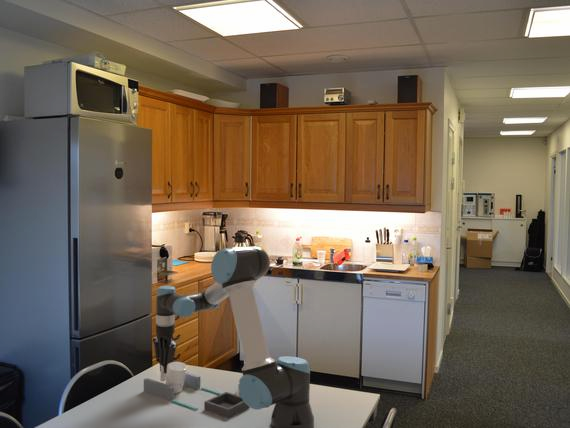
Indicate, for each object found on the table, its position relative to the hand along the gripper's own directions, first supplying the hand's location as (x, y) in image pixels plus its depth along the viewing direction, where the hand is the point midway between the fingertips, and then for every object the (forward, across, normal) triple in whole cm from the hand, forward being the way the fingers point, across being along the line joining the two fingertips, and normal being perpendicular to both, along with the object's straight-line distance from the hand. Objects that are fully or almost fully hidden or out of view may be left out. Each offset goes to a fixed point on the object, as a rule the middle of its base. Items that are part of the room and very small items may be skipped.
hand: (164, 380), depth 218 cm
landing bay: (+2, -20, 0) cm, 21 cm away
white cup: (+2, -6, 0) cm, 6 cm away
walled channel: (+3, -5, 0) cm, 6 cm away
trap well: (+2, -35, 0) cm, 35 cm away
